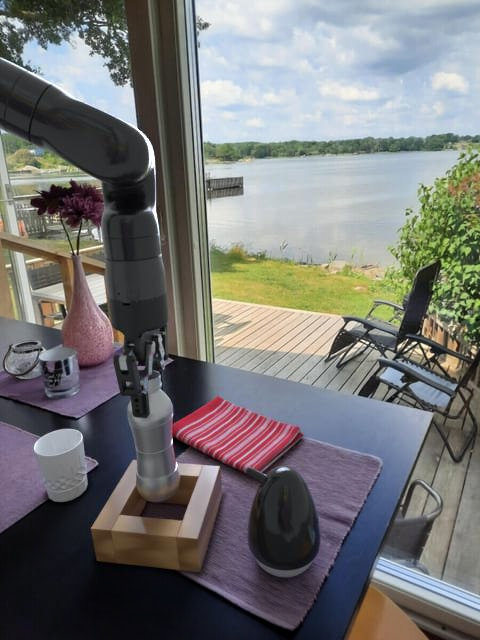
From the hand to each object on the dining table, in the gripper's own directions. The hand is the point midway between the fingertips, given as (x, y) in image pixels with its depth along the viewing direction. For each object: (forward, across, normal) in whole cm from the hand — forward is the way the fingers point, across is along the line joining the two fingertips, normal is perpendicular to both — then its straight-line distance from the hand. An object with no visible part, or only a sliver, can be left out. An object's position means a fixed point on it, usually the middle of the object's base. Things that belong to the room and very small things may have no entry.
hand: (149, 404), depth 63 cm
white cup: (+22, -6, -20) cm, 30 cm away
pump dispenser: (+22, +4, +19) cm, 29 cm away
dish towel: (+22, -25, +7) cm, 34 cm away
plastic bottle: (+16, 0, 0) cm, 16 cm away
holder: (+22, 0, 0) cm, 22 cm away
